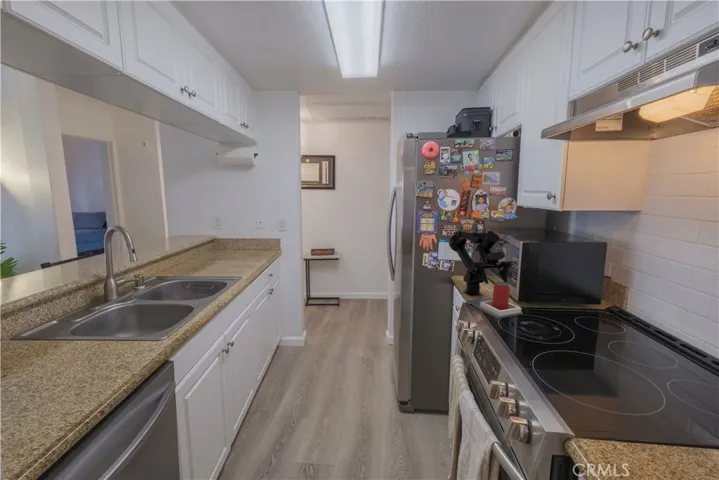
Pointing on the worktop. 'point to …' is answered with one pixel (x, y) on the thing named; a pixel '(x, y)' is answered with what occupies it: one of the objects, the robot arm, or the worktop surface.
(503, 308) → the beer can
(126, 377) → the worktop surface
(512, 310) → the plate
